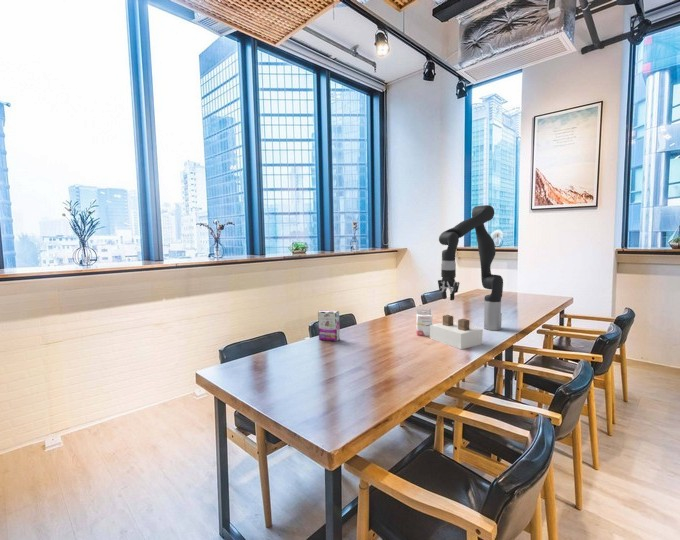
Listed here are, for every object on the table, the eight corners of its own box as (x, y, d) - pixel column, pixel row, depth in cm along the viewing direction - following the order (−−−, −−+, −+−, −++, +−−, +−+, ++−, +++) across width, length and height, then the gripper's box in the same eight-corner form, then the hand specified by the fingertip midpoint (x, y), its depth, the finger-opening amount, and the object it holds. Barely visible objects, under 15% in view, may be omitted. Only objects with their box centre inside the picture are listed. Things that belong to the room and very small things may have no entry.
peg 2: (463, 331, 190) (463, 318, 189) (469, 333, 186) (469, 320, 185) (458, 332, 188) (458, 319, 187) (463, 334, 184) (464, 321, 184)
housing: (450, 334, 206) (450, 320, 205) (482, 344, 187) (482, 329, 186) (430, 338, 198) (430, 324, 197) (461, 349, 179) (461, 333, 178)
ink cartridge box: (417, 335, 204) (417, 310, 203) (416, 333, 209) (416, 309, 208) (432, 335, 203) (432, 310, 202) (431, 333, 208) (431, 309, 207)
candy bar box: (340, 339, 201) (339, 310, 199) (336, 341, 196) (336, 312, 195) (322, 337, 205) (321, 309, 203) (318, 339, 200) (317, 311, 199)
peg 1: (447, 327, 199) (447, 314, 198) (453, 328, 196) (453, 316, 195) (442, 328, 197) (442, 315, 197) (448, 329, 194) (448, 317, 193)
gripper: (463, 269, 189) (463, 300, 190) (443, 267, 201) (443, 297, 203) (453, 270, 185) (453, 302, 187) (433, 268, 198) (433, 298, 199)
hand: (448, 299), depth 195 cm, fingers open, 5 cm apart
